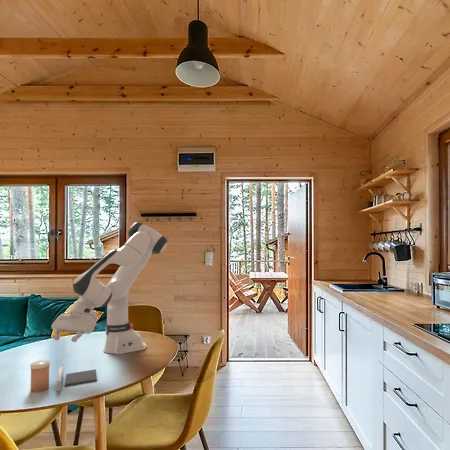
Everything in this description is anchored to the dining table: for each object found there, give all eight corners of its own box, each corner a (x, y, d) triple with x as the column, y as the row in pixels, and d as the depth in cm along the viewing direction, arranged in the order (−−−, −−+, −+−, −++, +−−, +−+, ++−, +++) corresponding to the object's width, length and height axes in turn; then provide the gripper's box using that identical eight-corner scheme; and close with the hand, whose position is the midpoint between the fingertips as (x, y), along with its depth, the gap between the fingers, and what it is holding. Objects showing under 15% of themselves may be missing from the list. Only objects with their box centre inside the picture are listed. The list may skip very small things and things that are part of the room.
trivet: (95, 371, 147) (95, 369, 147) (96, 381, 136) (96, 379, 136) (66, 375, 142) (66, 373, 142) (64, 386, 131) (64, 384, 132)
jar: (50, 384, 134) (50, 359, 135) (48, 390, 128) (49, 364, 129) (31, 387, 131) (31, 361, 132) (28, 393, 125) (29, 367, 126)
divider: (63, 376, 142) (63, 366, 142) (60, 391, 127) (60, 380, 128) (59, 376, 141) (59, 367, 142) (56, 391, 127) (56, 381, 127)
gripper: (58, 308, 153) (41, 335, 143) (95, 310, 148) (80, 338, 138) (65, 316, 157) (49, 342, 147) (101, 318, 152) (87, 345, 142)
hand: (64, 340), depth 142 cm, fingers open, 8 cm apart
